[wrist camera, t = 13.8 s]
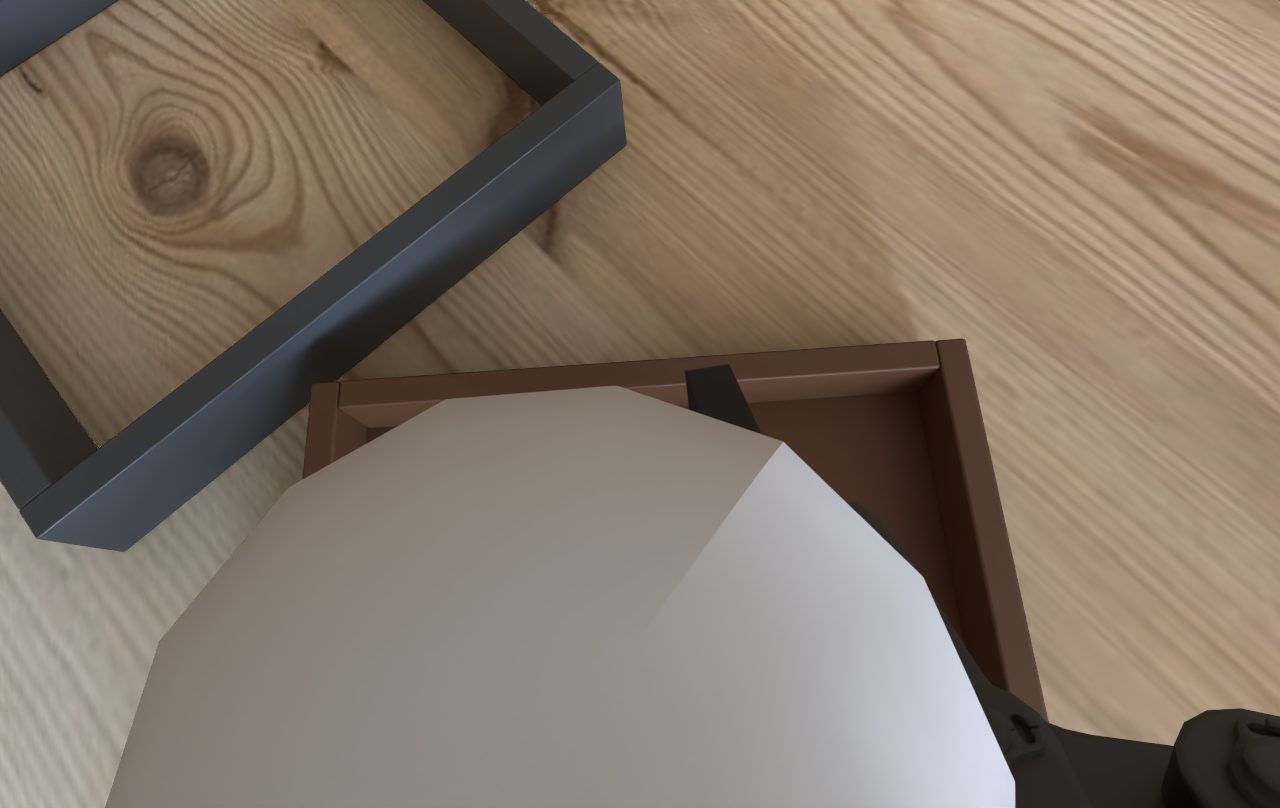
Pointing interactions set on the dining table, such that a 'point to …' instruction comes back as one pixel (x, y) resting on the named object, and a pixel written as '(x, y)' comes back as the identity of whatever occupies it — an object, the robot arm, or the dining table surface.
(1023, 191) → the dining table surface
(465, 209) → the open gray frame
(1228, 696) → the dining table surface
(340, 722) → the salt shaker
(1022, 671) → the tray
